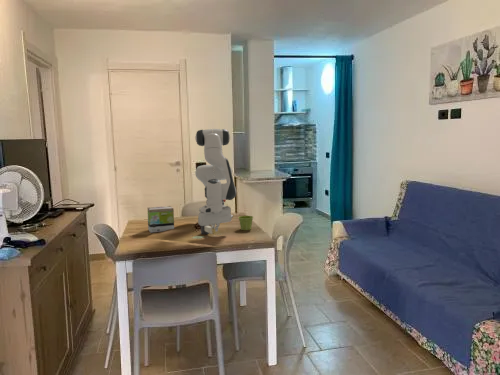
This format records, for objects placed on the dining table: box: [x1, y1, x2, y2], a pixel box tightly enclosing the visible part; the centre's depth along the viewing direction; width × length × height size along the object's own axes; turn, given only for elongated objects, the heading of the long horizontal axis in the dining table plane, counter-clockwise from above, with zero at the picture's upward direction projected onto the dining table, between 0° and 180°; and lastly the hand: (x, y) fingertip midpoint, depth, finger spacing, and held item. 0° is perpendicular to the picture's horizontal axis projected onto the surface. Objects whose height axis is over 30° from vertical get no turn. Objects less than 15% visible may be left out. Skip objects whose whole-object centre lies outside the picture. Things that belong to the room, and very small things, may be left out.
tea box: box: [147, 205, 175, 233], centre depth 253 cm, size 15×10×15 cm, turn 112°
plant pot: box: [237, 215, 254, 231], centre depth 247 cm, size 9×9×9 cm
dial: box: [191, 233, 223, 240], centre depth 238 cm, size 25×25×1 cm
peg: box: [200, 225, 216, 235], centre depth 233 cm, size 15×5×5 cm, turn 32°
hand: (215, 231), depth 231 cm, fingers closed
